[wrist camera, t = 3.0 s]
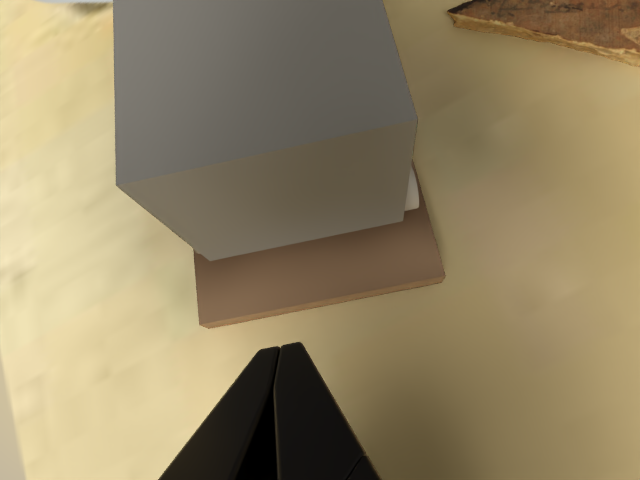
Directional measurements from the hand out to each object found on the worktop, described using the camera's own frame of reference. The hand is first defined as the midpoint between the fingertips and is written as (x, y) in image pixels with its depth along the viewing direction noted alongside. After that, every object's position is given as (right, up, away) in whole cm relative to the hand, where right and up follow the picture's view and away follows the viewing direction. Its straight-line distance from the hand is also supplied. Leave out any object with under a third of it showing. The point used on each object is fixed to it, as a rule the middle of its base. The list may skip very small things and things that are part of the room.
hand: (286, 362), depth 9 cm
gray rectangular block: (-1, +7, +11) cm, 13 cm away
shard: (+15, +14, +16) cm, 26 cm away
